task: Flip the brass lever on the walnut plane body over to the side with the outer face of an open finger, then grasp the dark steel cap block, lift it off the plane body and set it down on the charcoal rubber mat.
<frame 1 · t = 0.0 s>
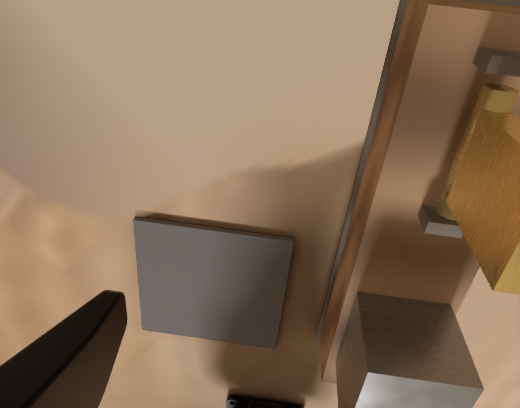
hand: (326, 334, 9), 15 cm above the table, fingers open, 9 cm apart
cap block: (389, 335, 24), point 4 cm above the table, touching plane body
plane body: (404, 210, 24), on the table
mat: (211, 286, 29), on the table
lever: (497, 187, 14), point 8 cm above the table, hinge at 0.0°
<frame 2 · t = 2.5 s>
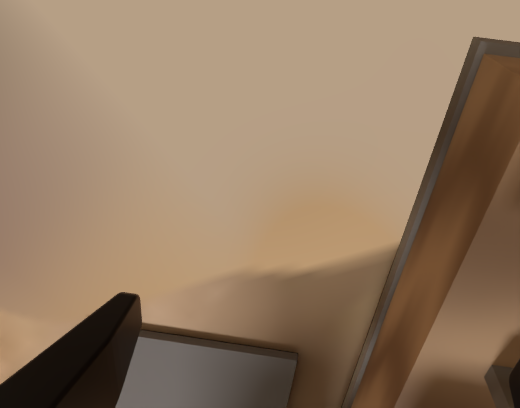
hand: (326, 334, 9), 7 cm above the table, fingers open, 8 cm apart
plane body: (449, 328, 18), on the table
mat: (190, 400, 22), on the table
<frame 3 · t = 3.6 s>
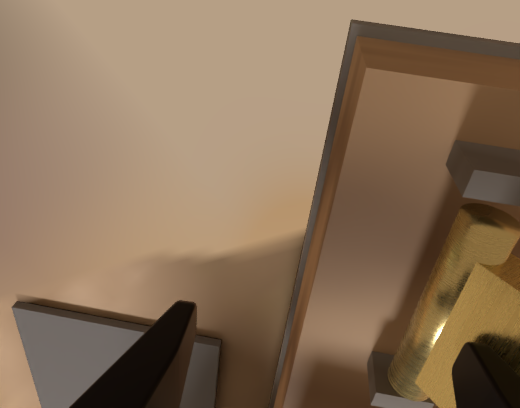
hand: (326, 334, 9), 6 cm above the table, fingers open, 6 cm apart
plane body: (365, 319, 18), on the table
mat: (124, 383, 23), on the table
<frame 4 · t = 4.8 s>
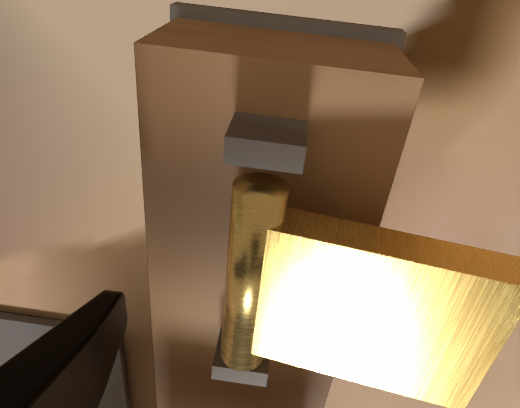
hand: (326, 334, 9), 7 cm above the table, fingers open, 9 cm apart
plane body: (253, 301, 18), on the table
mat: (37, 379, 23), on the table
lever: (352, 306, 10), point 6 cm above the table, hinge at 81.8°
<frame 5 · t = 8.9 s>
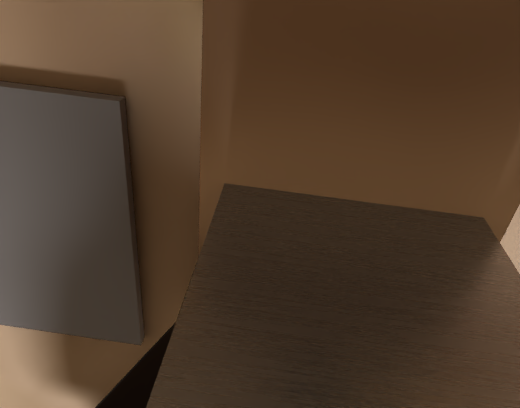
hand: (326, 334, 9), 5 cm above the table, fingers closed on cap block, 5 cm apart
cap block: (325, 309, 10), point 4 cm above the table, touching gripper, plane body
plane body: (365, 3, 10), on the table
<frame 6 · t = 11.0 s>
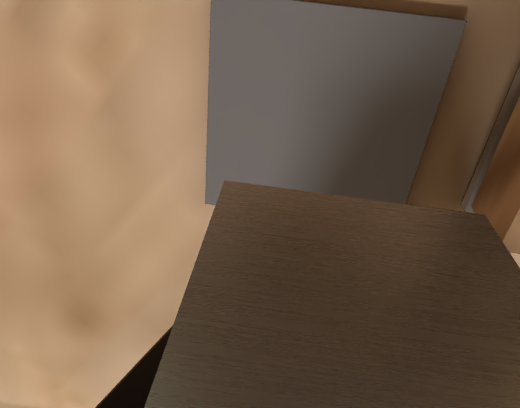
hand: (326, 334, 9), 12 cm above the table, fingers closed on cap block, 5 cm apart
cap block: (325, 307, 10), point 12 cm above the table, touching gripper
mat: (316, 122, 19), on the table
when the fingers open (3 cm above the table, at t = 13.4 s): cap block drops 2 cm, resting on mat.
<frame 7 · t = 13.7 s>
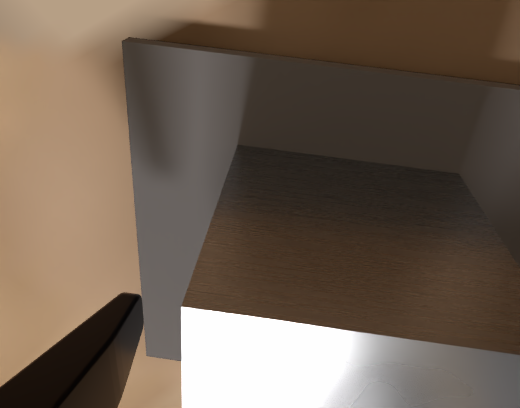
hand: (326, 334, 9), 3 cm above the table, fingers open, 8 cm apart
cap block: (323, 260, 11), resting on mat
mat: (322, 252, 11), on the table
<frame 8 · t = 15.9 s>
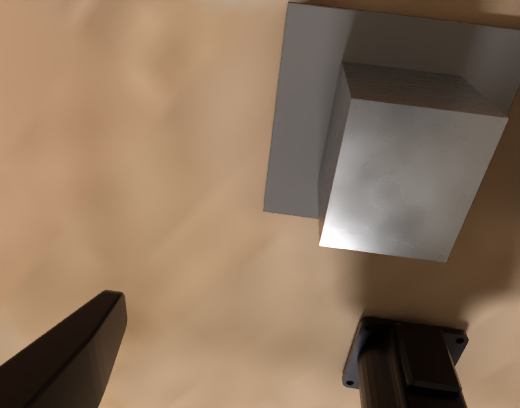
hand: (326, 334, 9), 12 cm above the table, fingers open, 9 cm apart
cap block: (382, 134, 19), resting on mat
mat: (380, 132, 20), on the table
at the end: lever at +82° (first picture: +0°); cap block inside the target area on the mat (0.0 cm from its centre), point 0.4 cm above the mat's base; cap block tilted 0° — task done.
